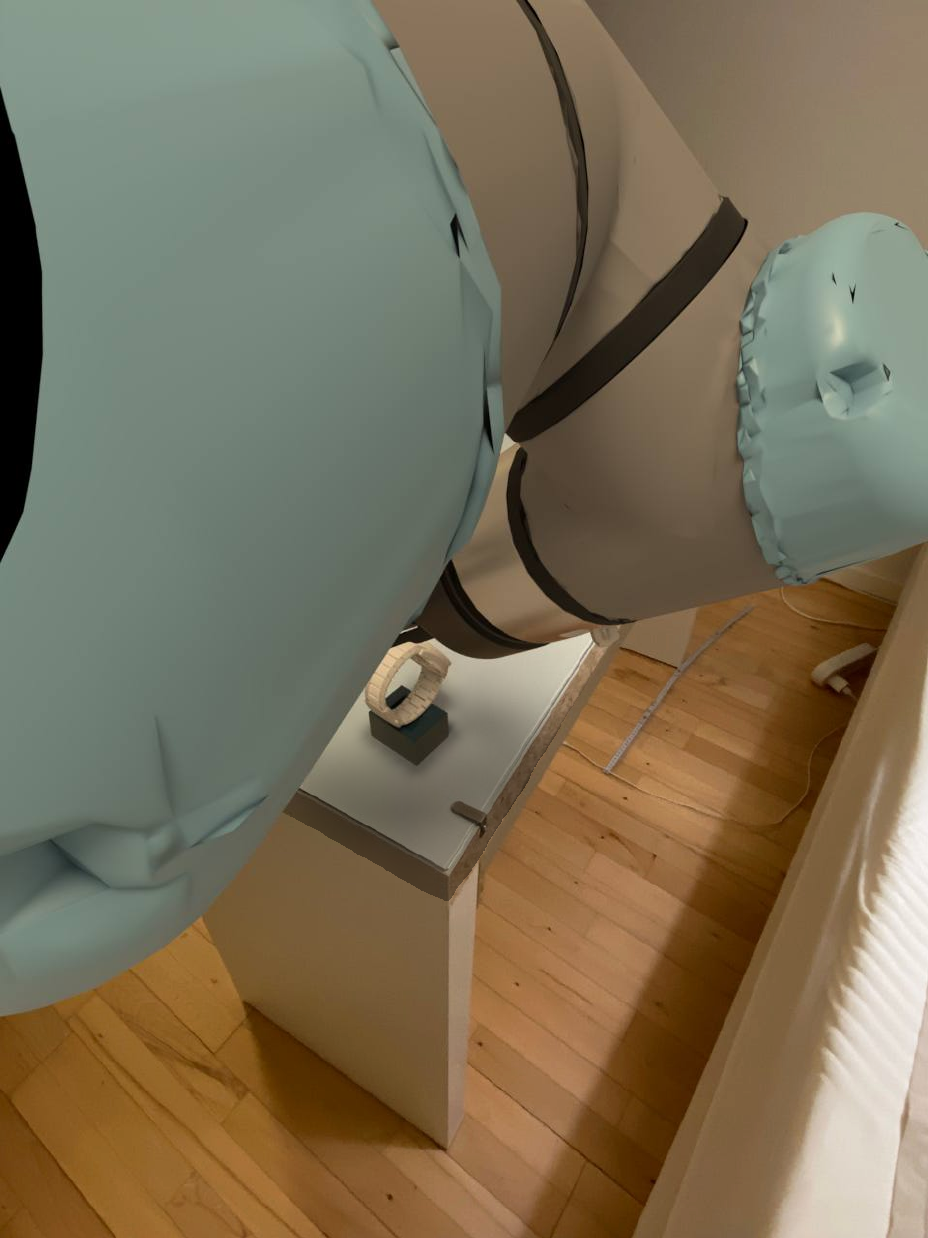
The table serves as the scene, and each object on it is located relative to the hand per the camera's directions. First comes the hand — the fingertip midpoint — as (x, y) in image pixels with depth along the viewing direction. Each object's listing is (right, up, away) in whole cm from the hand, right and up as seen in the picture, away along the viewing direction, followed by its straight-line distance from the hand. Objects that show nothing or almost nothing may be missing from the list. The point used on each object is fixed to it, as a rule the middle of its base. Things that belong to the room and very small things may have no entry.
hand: (337, 641), depth 45 cm
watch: (+3, -9, +17) cm, 20 cm away
